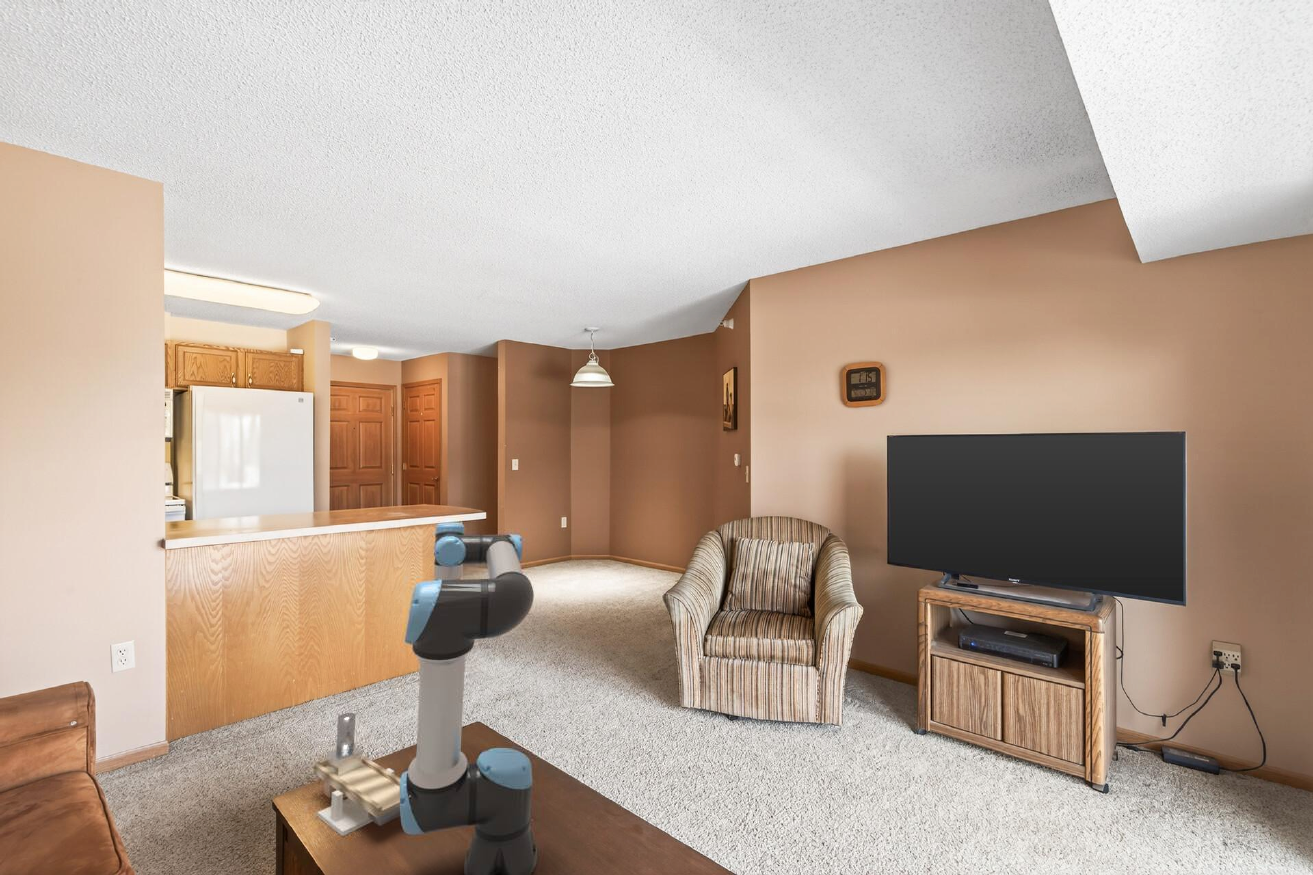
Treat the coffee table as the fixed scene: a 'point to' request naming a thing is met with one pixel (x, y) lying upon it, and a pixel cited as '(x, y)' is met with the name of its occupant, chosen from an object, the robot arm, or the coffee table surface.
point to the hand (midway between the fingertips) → (444, 657)
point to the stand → (343, 812)
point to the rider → (345, 748)
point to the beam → (367, 788)
